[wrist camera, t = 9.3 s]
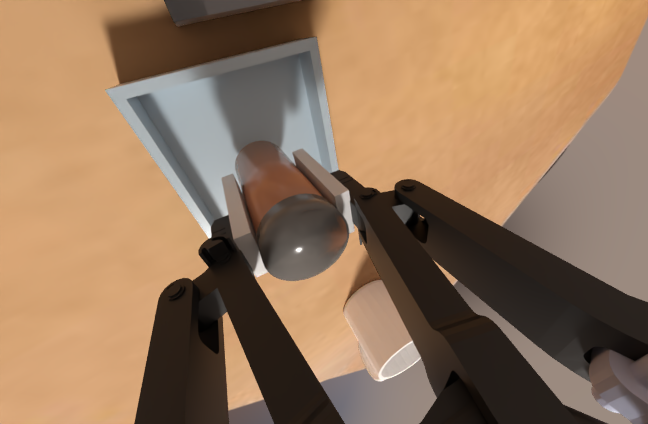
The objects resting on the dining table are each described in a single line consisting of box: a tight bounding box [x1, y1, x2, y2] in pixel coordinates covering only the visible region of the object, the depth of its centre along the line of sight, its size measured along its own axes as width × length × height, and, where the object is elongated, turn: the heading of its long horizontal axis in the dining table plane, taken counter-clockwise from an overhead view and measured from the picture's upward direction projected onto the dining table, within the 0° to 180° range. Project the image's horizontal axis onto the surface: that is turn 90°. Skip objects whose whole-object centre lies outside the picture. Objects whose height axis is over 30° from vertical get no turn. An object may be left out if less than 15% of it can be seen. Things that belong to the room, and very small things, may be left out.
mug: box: [344, 280, 421, 381], centre depth 38 cm, size 13×10×10 cm
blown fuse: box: [235, 141, 349, 281], centre depth 14 cm, size 4×4×10 cm
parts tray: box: [105, 37, 338, 238], centre depth 19 cm, size 14×12×3 cm
